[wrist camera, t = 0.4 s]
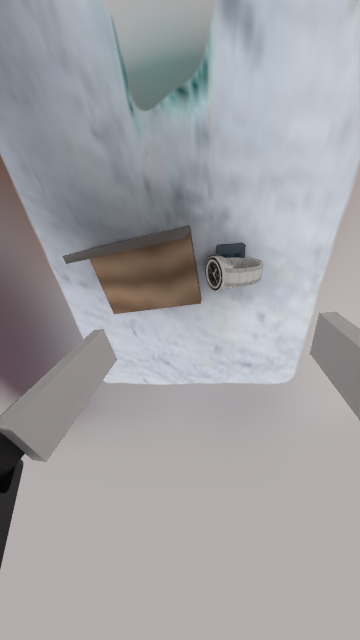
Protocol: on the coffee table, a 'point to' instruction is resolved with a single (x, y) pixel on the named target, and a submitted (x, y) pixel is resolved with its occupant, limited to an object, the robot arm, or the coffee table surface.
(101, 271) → the display stand
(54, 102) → the coffee table surface
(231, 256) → the watch
